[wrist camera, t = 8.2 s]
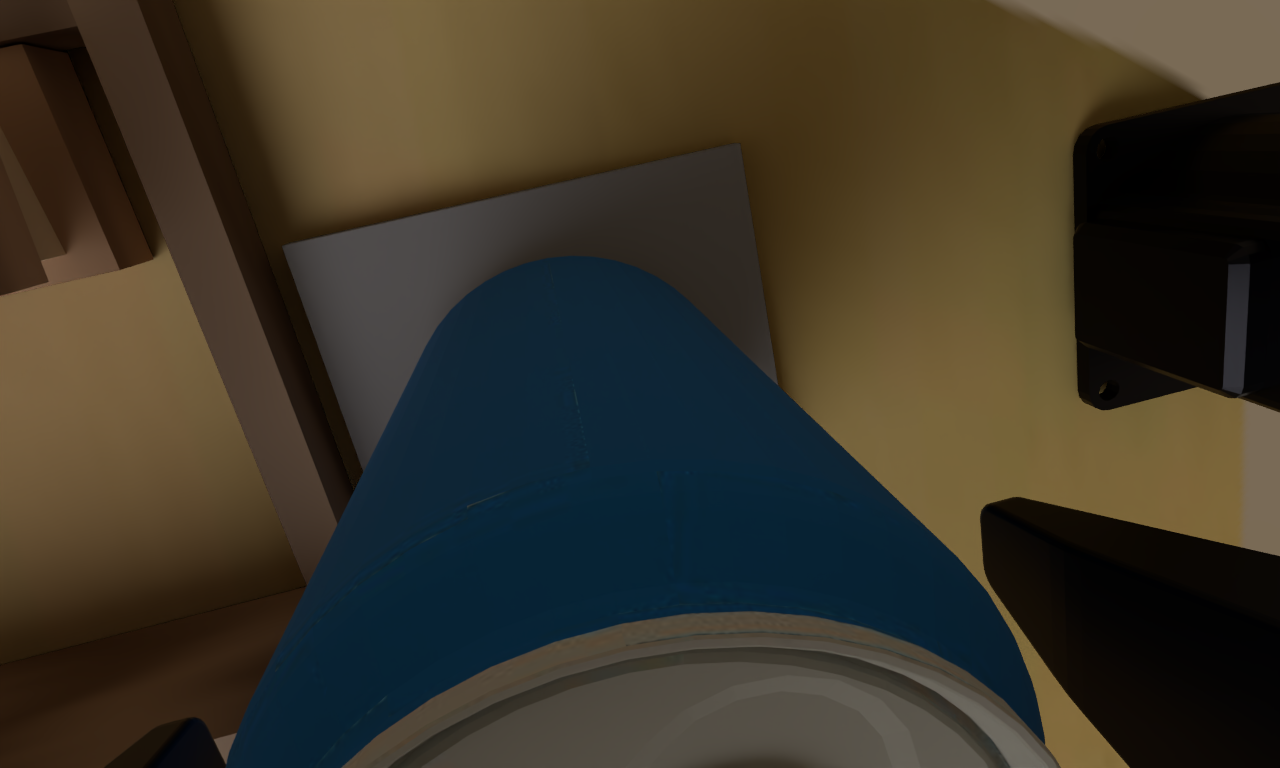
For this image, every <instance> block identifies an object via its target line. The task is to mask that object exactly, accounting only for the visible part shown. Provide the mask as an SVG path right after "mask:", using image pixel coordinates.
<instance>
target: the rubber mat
mask: <svg viewBox="0 0 1280 768" xmlns="http://www.w3.org/2000/svg"><path fill="white" fill-rule="evenodd" d="M282 248H283V251H284V254H285V256H286V259H287V262H288V265H289V267H290V270H291V273H292V276H293V278H294V281H295V284H296V287H297V290H298V292H299V295H300V298H301V301H302V303H303V306H304V309H305V312H306V315H307V317H308V320H309V323H310V326H311V328H312V331H313V334H314V337H315V339H316V342H317V345H318V348H319V351H320V353H321V356H322V359H323V362H324V364H325V367H326V370H327V373H328V376H329V378H330V381H331V384H332V387H333V389H334V392H335V395H336V398H337V401H338V403H339V406H340V409H341V412H342V414H343V417H344V420H345V423H346V425H347V428H348V431H349V434H350V437H351V439H352V442H353V445H354V448H355V450H356V453H357V456H358V459H359V462H360V464H361V467H362V470H363V472H364V470H365V468H366V466H367V464H368V462H369V460H370V458H371V456H372V454H373V452H374V450H375V448H376V446H377V444H378V442H379V440H380V438H381V436H382V434H383V432H384V430H385V428H386V425H387V423H388V421H389V419H390V417H391V415H392V413H393V411H394V409H395V407H396V405H397V403H398V401H399V399H400V397H401V395H402V393H403V391H404V389H405V387H406V385H407V383H408V381H409V379H410V377H411V375H412V373H413V371H414V369H415V367H416V365H417V363H418V361H419V359H420V357H421V355H422V353H423V351H424V349H425V347H426V345H427V343H428V341H429V340H430V338H431V336H432V335H433V333H434V331H435V330H436V328H437V326H438V325H439V324H440V323H441V321H442V320H443V319H444V318H445V316H446V315H447V314H448V313H449V311H450V310H451V309H452V308H453V307H454V306H455V305H456V304H457V303H458V302H460V301H461V300H462V299H463V298H464V297H465V296H466V295H467V294H468V293H470V292H471V291H472V290H474V289H475V288H477V287H478V286H479V285H481V284H482V283H484V282H485V281H487V280H489V279H491V278H492V277H494V276H496V275H498V274H500V273H502V272H504V271H506V270H509V269H511V268H514V267H517V266H519V265H522V264H525V263H528V262H532V261H537V260H541V259H545V258H552V257H562V256H592V257H599V258H605V259H611V260H616V261H619V262H622V263H626V264H629V265H632V266H635V267H638V268H640V269H642V270H644V271H646V272H648V273H651V274H653V275H655V276H657V277H658V278H660V279H661V280H663V281H664V282H666V283H668V284H669V285H671V286H672V287H674V288H675V289H676V290H677V291H678V292H680V293H681V294H682V295H683V296H684V297H685V298H687V299H688V300H689V301H690V302H691V303H692V304H693V305H694V306H695V307H696V308H697V309H698V310H699V311H701V312H702V313H703V314H704V315H705V316H706V317H707V318H708V319H709V320H710V321H711V322H712V323H713V324H714V325H715V326H716V327H717V328H718V329H719V330H720V331H721V332H722V333H724V334H725V335H726V336H727V337H728V338H729V339H730V340H731V341H732V342H733V343H734V344H735V345H736V346H737V347H738V348H739V349H740V350H741V351H742V352H743V353H744V354H745V355H747V356H748V357H749V358H750V359H751V360H752V361H753V362H754V363H755V364H756V365H757V366H758V367H759V368H760V369H761V370H762V371H763V372H764V373H765V374H766V375H767V376H768V377H770V378H771V379H772V380H773V381H774V382H775V383H776V384H777V385H778V381H777V375H776V369H775V362H774V356H773V349H772V343H771V337H770V330H769V324H768V317H767V311H766V305H765V298H764V292H763V286H762V279H761V273H760V266H759V260H758V254H757V247H756V241H755V235H754V228H753V222H752V215H751V209H750V203H749V196H748V190H747V184H746V177H745V171H744V164H743V158H742V152H741V145H740V143H732V144H728V145H723V146H719V147H714V148H710V149H705V150H701V151H696V152H692V153H687V154H683V155H678V156H674V157H670V158H665V159H661V160H656V161H652V162H647V163H643V164H638V165H634V166H629V167H625V168H621V169H616V170H612V171H607V172H603V173H598V174H594V175H589V176H585V177H580V178H576V179H571V180H567V181H563V182H558V183H554V184H549V185H545V186H540V187H536V188H531V189H527V190H522V191H518V192H514V193H509V194H505V195H500V196H496V197H491V198H487V199H482V200H478V201H473V202H469V203H464V204H460V205H456V206H451V207H447V208H442V209H438V210H433V211H429V212H424V213H420V214H415V215H411V216H407V217H402V218H398V219H393V220H389V221H384V222H380V223H375V224H371V225H366V226H362V227H357V228H353V229H349V230H344V231H340V232H335V233H331V234H326V235H322V236H317V237H313V238H308V239H304V240H300V241H295V242H291V243H288V244H285V245H283V246H282Z"/></svg>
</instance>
